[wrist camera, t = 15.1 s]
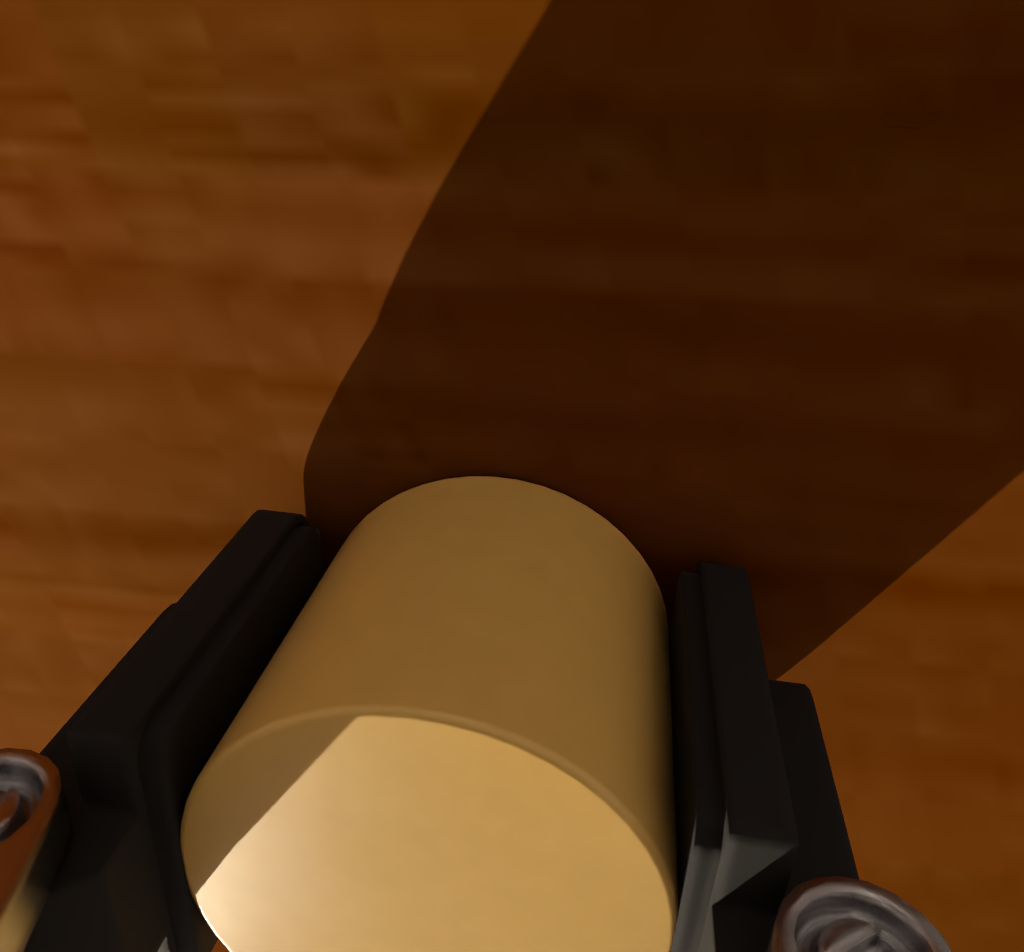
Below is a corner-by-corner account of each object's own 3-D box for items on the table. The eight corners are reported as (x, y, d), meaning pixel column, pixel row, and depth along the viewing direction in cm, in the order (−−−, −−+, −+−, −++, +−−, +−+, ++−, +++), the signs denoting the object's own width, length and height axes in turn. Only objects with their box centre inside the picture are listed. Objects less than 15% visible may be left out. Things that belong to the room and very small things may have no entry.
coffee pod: (599, 427, 9) (571, 655, 6) (711, 721, 11) (742, 1040, 7) (270, 528, 11) (79, 767, 7) (414, 779, 12) (319, 1074, 9)
